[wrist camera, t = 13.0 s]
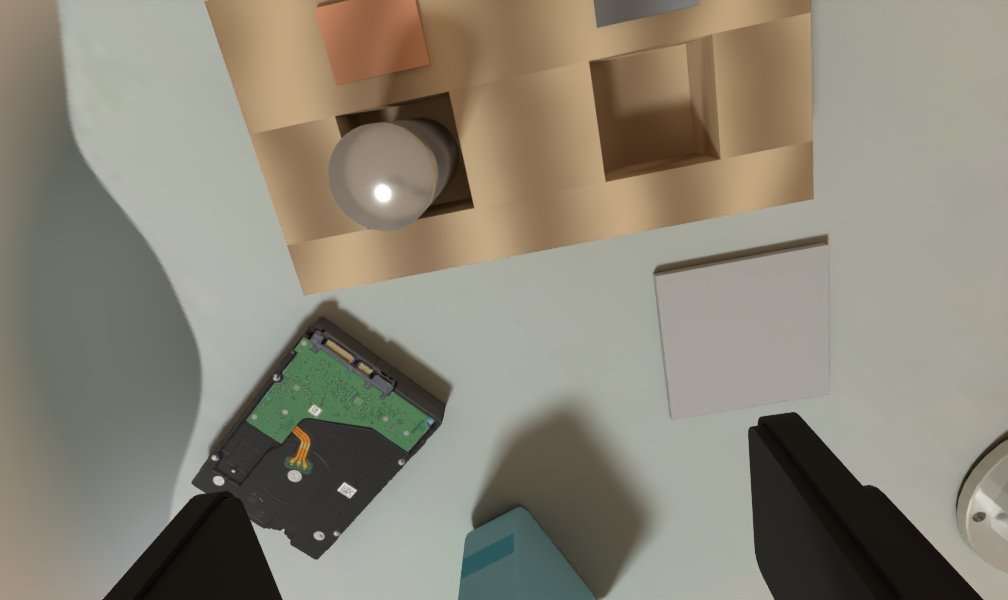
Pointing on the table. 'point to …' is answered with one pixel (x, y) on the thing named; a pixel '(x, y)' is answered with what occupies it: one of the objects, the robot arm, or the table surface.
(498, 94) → the socket block
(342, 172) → the plug
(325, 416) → the disk drive
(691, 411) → the rubber mat
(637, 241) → the table surface
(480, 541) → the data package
